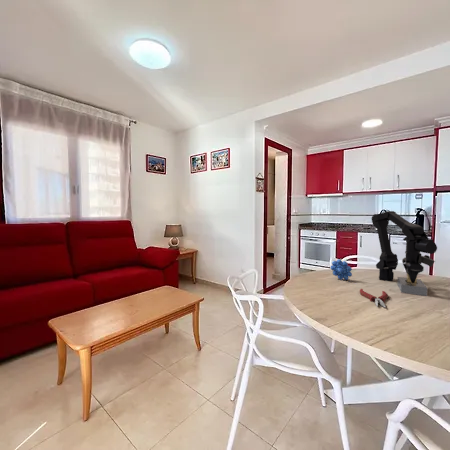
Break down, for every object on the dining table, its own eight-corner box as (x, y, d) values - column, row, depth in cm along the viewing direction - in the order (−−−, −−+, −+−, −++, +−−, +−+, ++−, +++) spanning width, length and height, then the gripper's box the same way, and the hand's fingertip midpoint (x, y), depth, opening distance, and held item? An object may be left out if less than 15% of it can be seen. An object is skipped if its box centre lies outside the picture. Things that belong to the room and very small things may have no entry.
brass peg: (407, 289, 124) (407, 274, 123) (406, 288, 127) (406, 273, 126) (416, 291, 122) (416, 275, 121) (414, 289, 125) (415, 273, 125)
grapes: (328, 279, 142) (329, 259, 141) (331, 277, 148) (331, 257, 147) (350, 283, 136) (351, 261, 135) (352, 280, 141) (353, 259, 140)
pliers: (365, 307, 103) (366, 301, 103) (358, 292, 121) (359, 287, 121) (397, 312, 99) (398, 305, 98) (385, 295, 117) (385, 290, 117)
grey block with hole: (401, 292, 120) (401, 284, 120) (397, 283, 134) (397, 276, 134) (426, 296, 115) (427, 287, 115) (420, 286, 129) (420, 279, 129)
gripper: (438, 254, 111) (436, 288, 112) (428, 248, 127) (427, 278, 128) (408, 252, 116) (406, 284, 118) (402, 247, 133) (401, 275, 134)
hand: (411, 280), depth 124 cm, fingers open, 9 cm apart
